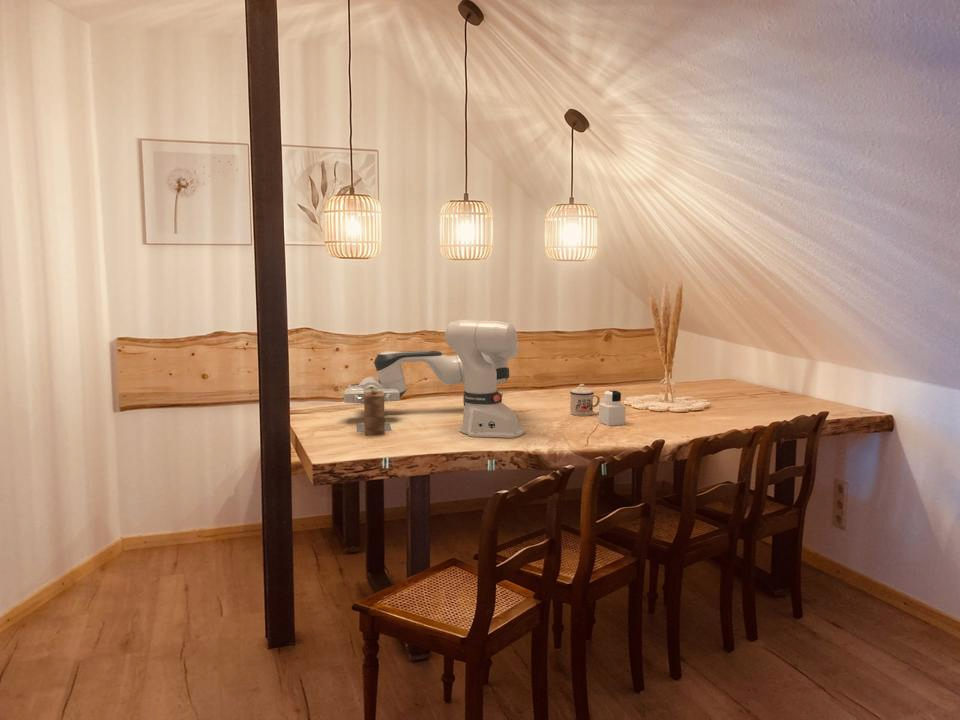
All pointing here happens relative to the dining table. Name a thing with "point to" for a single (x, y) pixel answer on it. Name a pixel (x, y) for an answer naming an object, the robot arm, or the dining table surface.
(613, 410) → the medicine bottle
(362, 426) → the mat
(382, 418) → the brown cylindrical container
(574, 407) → the teacup with lid
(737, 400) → the dining table surface
